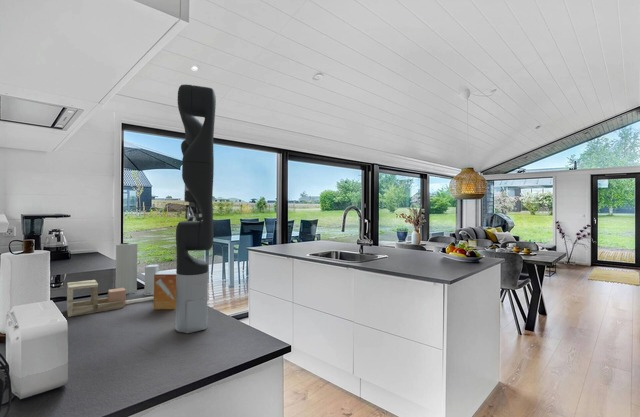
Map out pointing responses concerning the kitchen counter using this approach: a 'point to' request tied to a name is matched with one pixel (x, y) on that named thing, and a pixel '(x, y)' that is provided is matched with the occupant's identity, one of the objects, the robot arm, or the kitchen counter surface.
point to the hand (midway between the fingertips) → (194, 230)
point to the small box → (165, 290)
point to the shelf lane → (88, 305)
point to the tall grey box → (126, 267)
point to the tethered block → (123, 296)
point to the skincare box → (150, 279)
